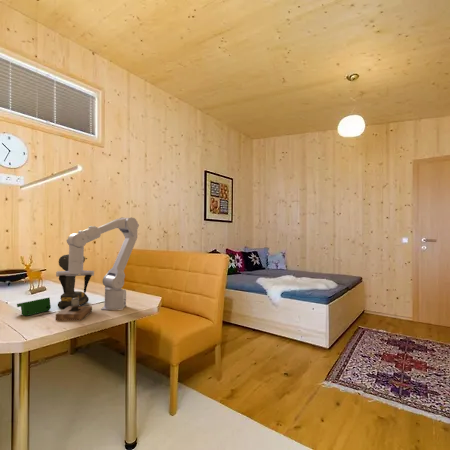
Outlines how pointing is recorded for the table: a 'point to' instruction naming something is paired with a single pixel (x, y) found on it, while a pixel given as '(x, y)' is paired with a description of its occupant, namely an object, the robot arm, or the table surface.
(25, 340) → the table surface
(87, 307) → the holder
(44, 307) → the green block
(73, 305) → the metal cylinder
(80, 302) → the cordless drill
